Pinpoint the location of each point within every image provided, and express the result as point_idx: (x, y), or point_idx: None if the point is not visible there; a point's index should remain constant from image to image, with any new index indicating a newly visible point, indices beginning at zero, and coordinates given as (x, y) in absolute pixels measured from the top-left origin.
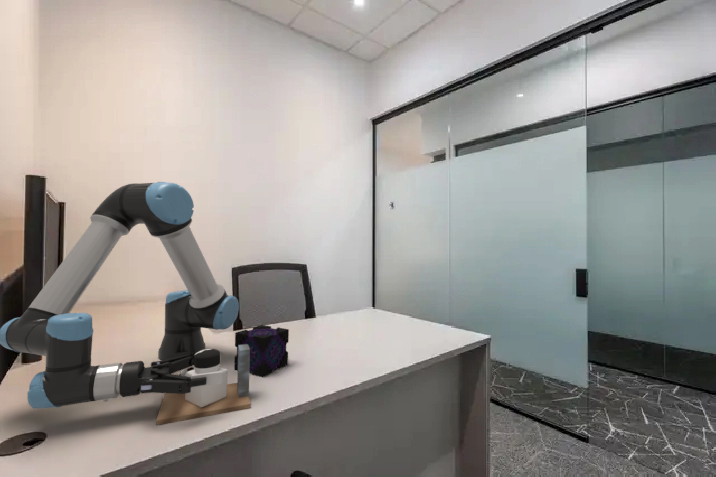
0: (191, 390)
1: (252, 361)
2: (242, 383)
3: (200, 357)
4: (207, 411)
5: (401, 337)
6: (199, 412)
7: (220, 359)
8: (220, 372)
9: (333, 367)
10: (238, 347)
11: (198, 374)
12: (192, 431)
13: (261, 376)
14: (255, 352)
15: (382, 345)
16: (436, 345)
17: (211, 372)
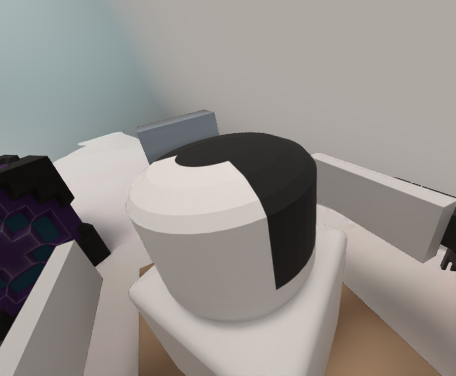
0: (320, 370)
1: (36, 264)
2: None
3: (312, 157)
4: (344, 285)
5: (68, 159)
6: (366, 307)
7: (90, 263)
8: (322, 155)
9: (126, 180)
10: (149, 137)
11: (404, 187)
12: (447, 291)
13: (106, 256)
14: (31, 229)
15: (81, 164)
16: (115, 142)
17: (342, 166)
